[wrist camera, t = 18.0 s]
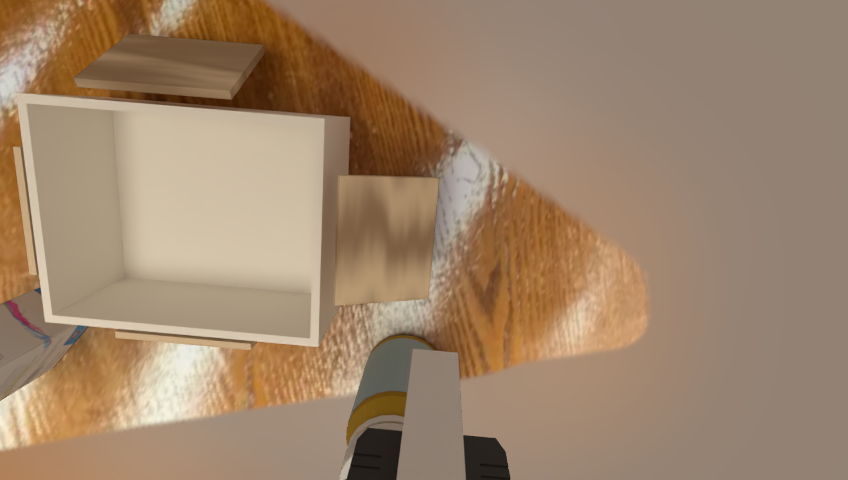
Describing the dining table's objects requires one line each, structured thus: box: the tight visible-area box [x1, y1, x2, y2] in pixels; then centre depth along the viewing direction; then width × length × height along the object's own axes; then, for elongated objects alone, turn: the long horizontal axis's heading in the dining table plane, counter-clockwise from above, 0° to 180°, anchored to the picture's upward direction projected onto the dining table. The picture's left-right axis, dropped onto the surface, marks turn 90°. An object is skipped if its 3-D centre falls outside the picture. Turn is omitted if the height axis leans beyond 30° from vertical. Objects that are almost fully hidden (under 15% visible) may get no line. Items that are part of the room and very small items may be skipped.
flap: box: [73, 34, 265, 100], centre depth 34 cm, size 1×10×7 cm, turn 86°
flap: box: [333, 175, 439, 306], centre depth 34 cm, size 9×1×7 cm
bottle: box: [339, 335, 436, 480], centre depth 38 cm, size 7×7×15 cm
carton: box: [13, 93, 351, 350], centre depth 38 cm, size 17×21×9 cm
